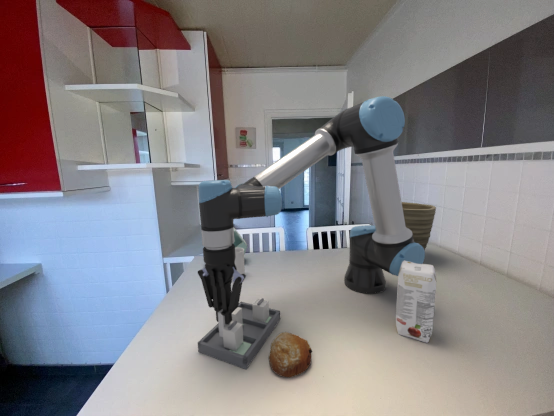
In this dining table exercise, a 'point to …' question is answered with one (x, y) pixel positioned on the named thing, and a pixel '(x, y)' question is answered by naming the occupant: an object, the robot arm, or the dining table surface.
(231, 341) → the tab near
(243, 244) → the planter
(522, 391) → the dining table surface
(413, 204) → the vase
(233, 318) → the tab mid
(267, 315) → the tab far
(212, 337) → the switch bank
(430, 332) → the juice carton
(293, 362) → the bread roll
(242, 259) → the mug
